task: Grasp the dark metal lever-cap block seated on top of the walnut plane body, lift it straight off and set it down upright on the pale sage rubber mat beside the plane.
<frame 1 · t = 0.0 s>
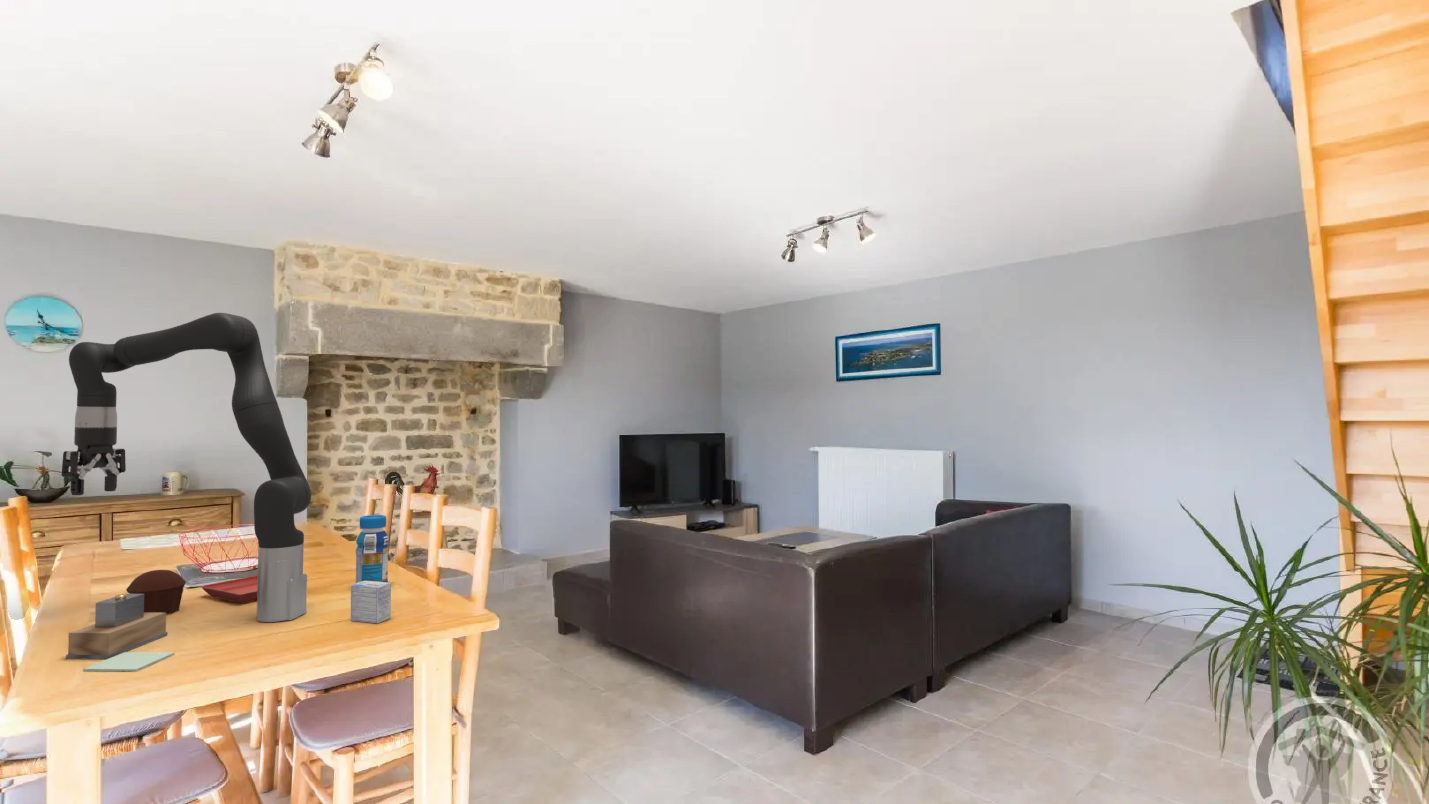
hand: (94, 493, 162), 29 cm above the table, fingers open, 8 cm apart
beverage bottle: (371, 588, 190), on the table
plane body: (119, 646, 140), on the table
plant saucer: (255, 595, 182), on the table
medicine box: (370, 620, 160), on the table
mat: (130, 662, 131), on the table
lever cap: (119, 622, 141), point 5 cm above the table, touching plane body
muffin: (156, 613, 164), on the table
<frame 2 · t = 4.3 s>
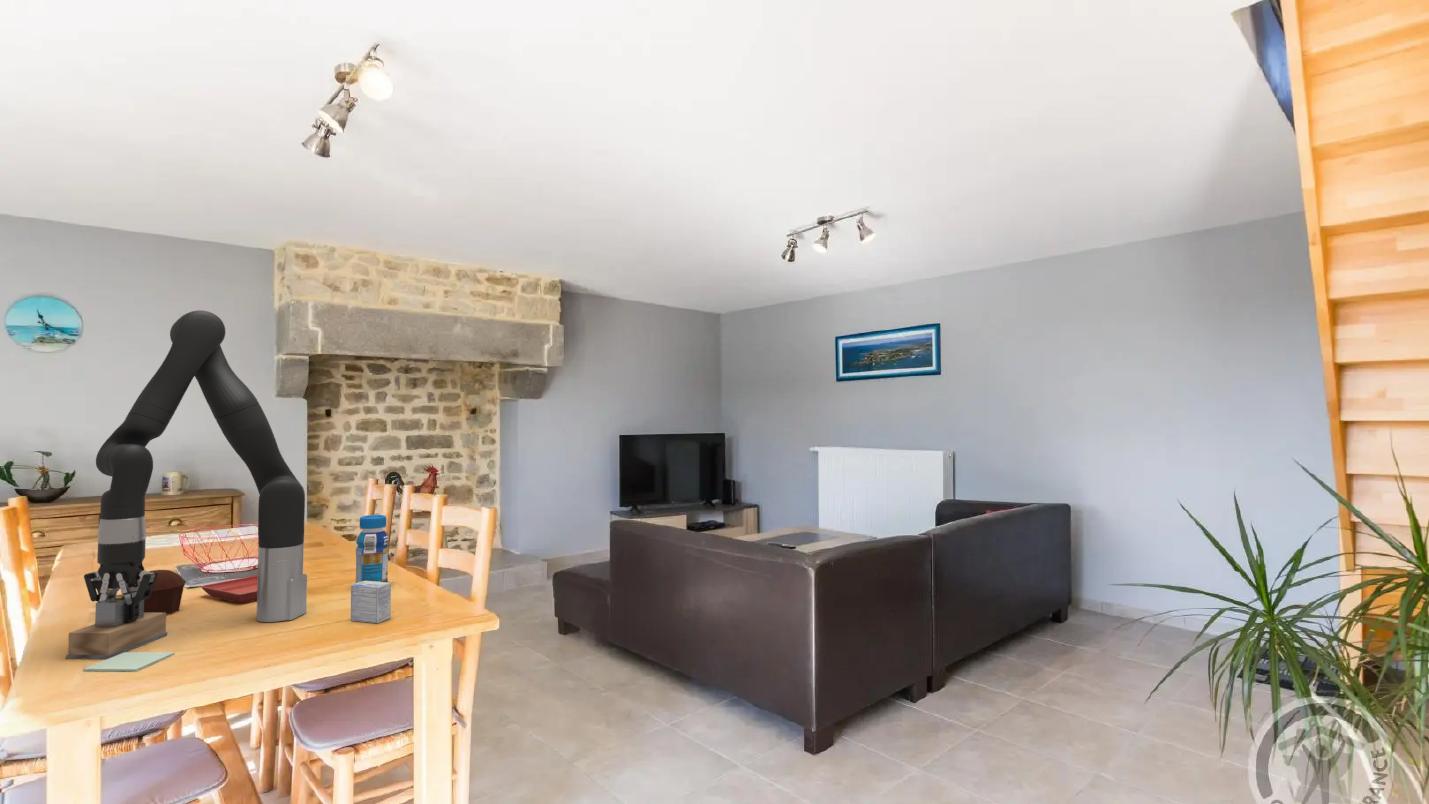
hand: (119, 620, 141), 5 cm above the table, fingers closed on lever cap, 4 cm apart
lever cap: (119, 622, 141), point 5 cm above the table, touching gripper, plane body
everything else where it was.
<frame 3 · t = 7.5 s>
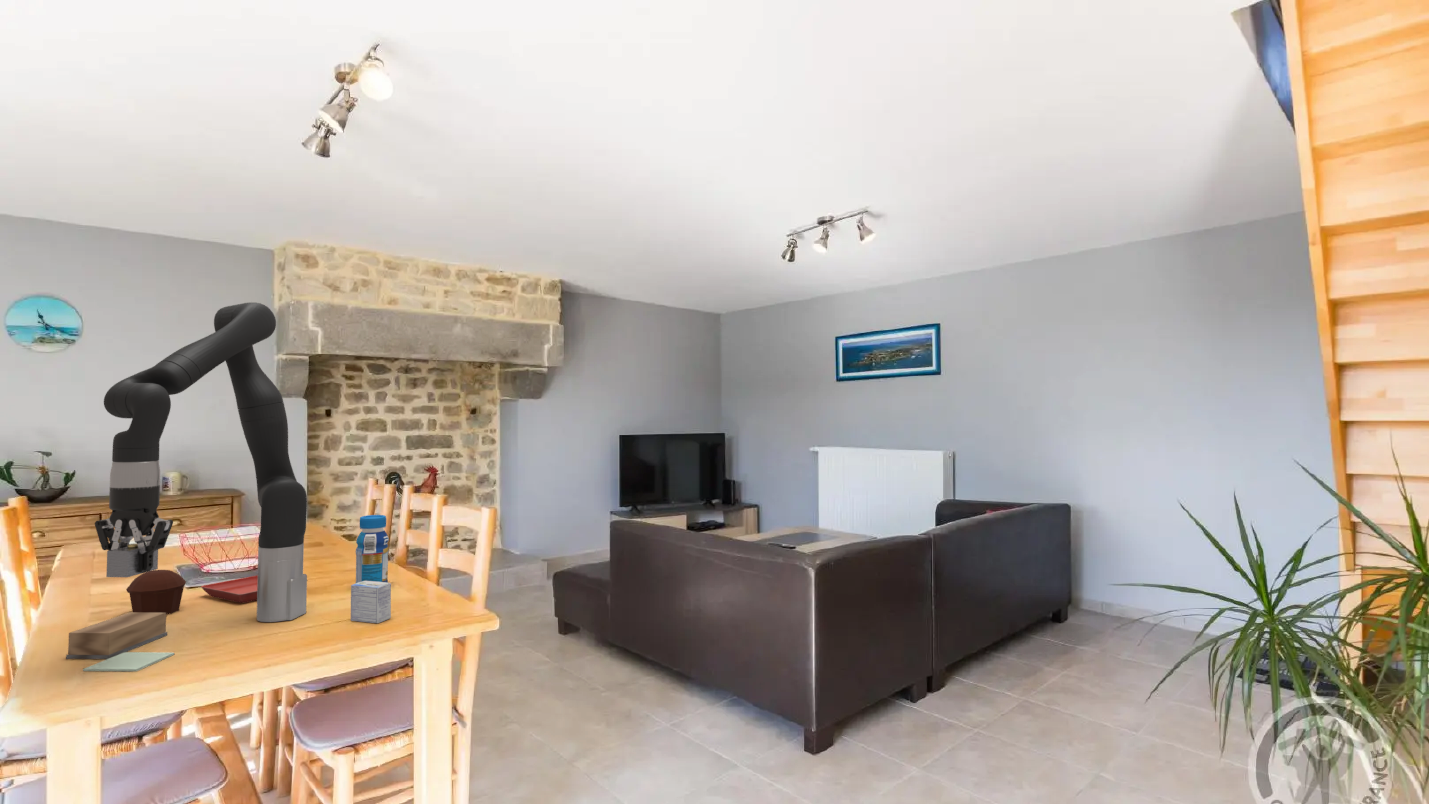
hand: (132, 571, 132), 18 cm above the table, fingers closed on lever cap, 4 cm apart
lever cap: (132, 572, 132), point 17 cm above the table, touching gripper
everything else where it was.
when the fingers open (2 cm above the table, at t = 11.0 s): lever cap drops 1 cm, resting on mat.
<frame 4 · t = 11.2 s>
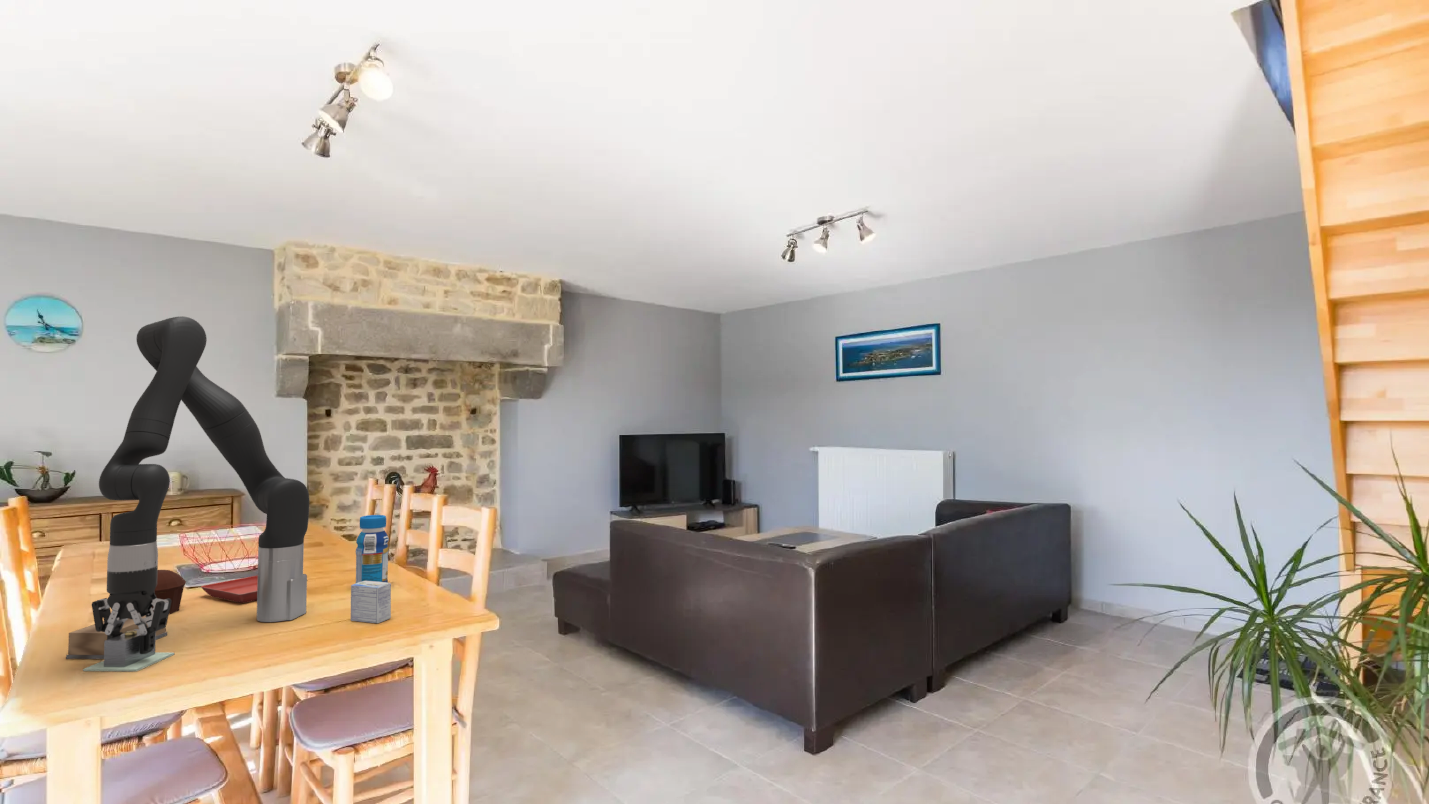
hand: (130, 652, 132), 2 cm above the table, fingers open, 5 cm apart
lever cap: (130, 660, 131), resting on mat
everything else where it was.
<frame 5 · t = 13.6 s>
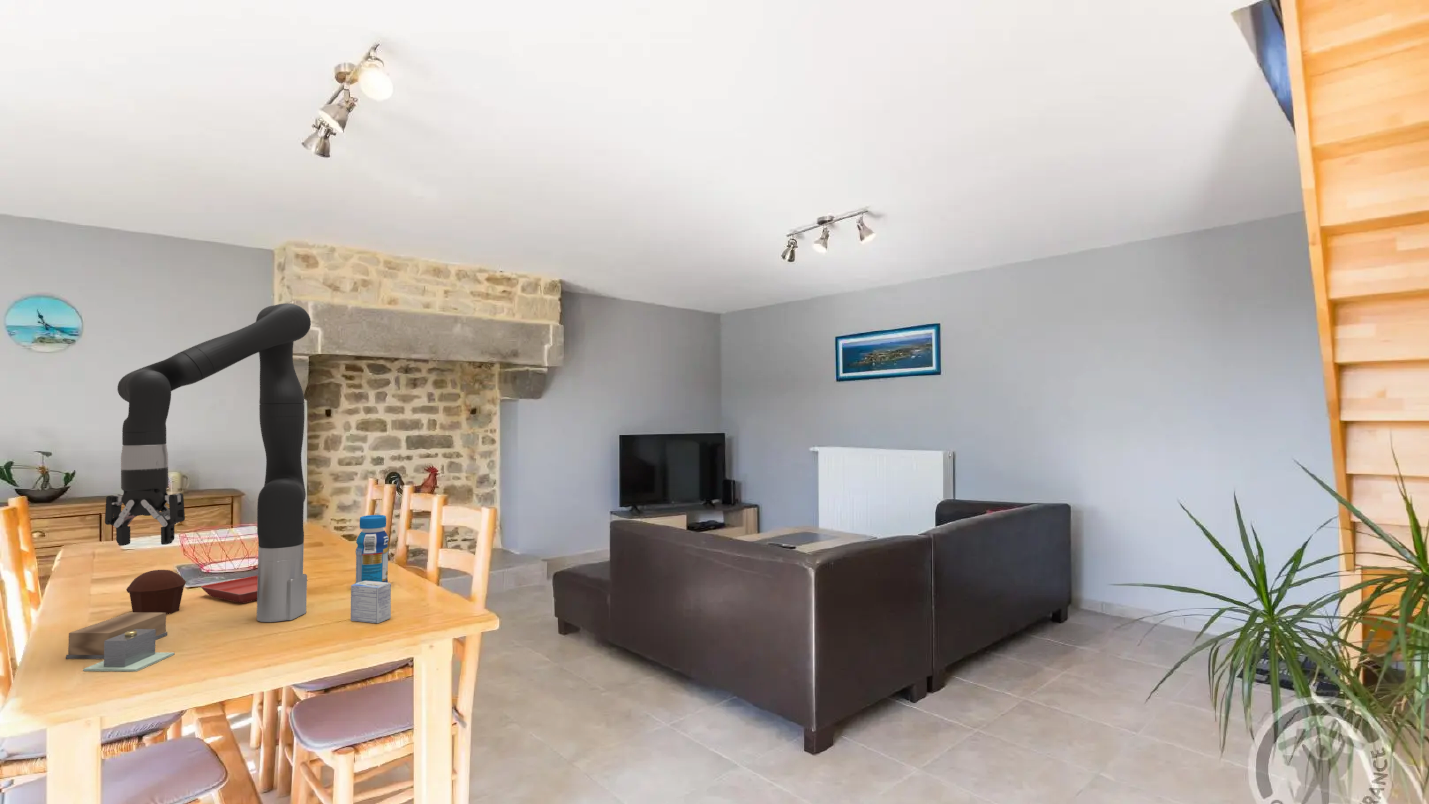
hand: (145, 544, 140), 21 cm above the table, fingers open, 8 cm apart
nothing on the table moved.
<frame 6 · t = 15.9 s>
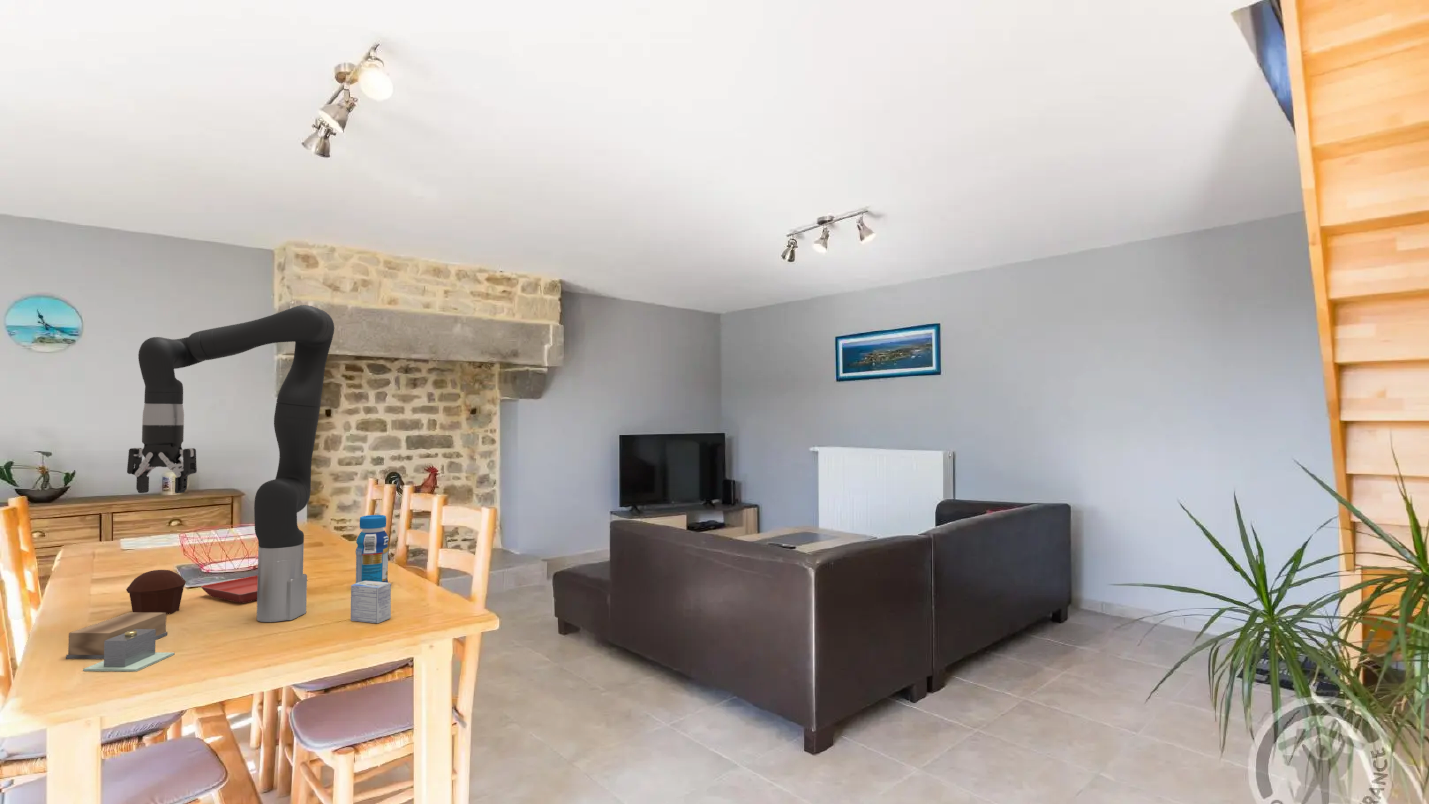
hand: (161, 492, 157), 30 cm above the table, fingers open, 8 cm apart
nothing on the table moved.
at the end: lever cap inside the target area on the mat (0.0 cm from its centre), point 0.4 cm above the mat's base; lever cap tilted 0°; lever cap touching mat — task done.
